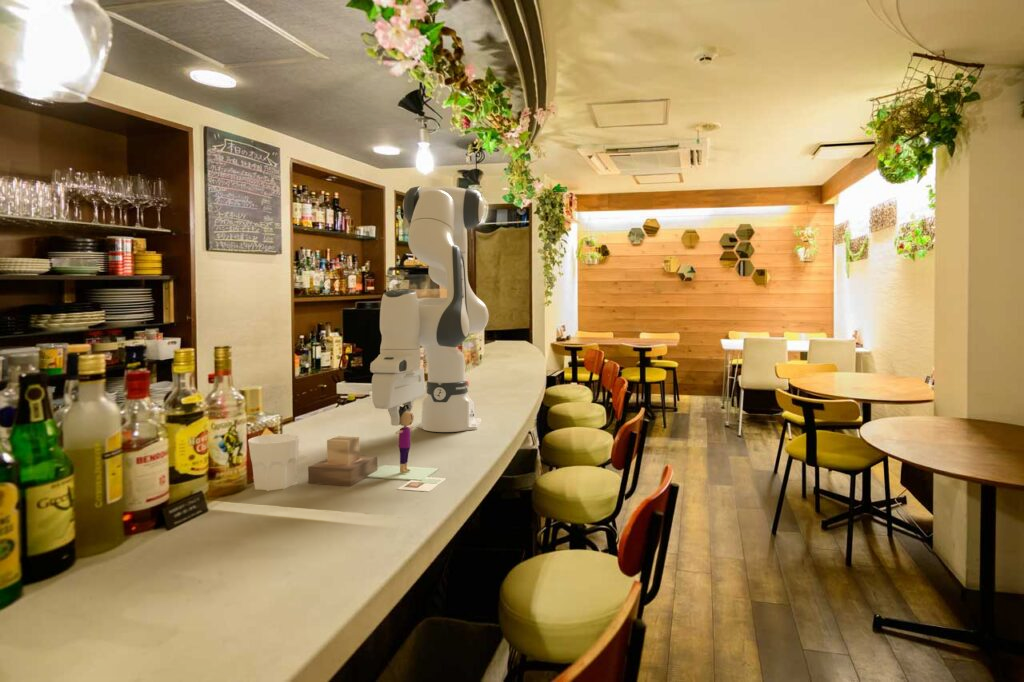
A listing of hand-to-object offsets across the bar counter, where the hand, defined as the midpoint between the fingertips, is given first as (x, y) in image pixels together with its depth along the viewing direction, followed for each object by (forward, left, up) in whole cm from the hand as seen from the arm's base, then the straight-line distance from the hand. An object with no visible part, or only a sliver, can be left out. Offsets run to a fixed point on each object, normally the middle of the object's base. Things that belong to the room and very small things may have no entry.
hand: (401, 422), depth 137 cm
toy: (+1, 0, -11) cm, 11 cm away
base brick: (+6, -11, -11) cm, 17 cm away
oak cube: (+6, -11, -8) cm, 15 cm away
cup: (+15, -22, -12) cm, 29 cm away
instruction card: (+7, +8, -11) cm, 16 cm away
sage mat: (0, 0, -11) cm, 11 cm away
